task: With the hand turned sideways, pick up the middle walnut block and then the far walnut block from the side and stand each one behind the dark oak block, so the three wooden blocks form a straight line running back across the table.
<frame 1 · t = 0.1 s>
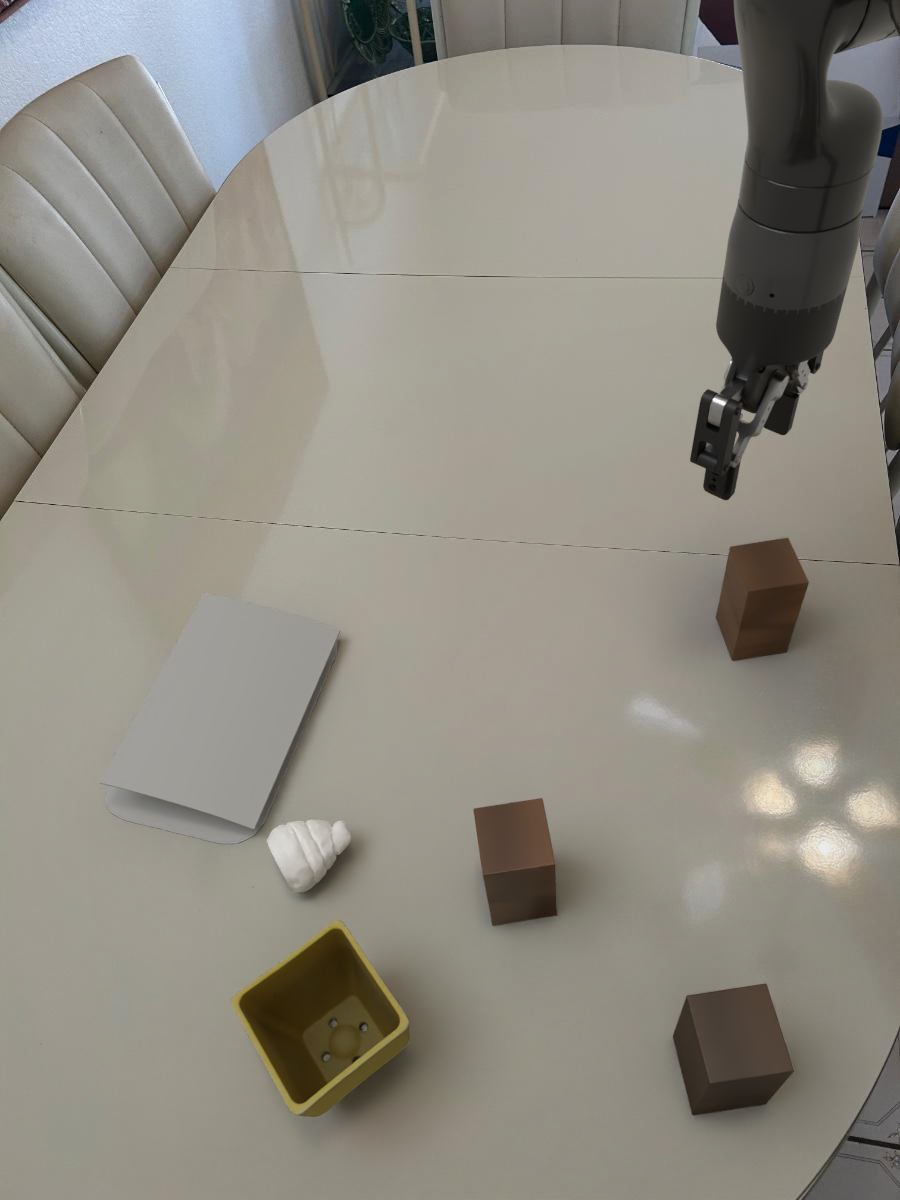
hand: (747, 460, 71), 20 cm above the table, tool pointing down, fingers open, 8 cm apart
book: (227, 717, 85), on the table
walnut block middle: (519, 889, 73), on the table
white swirl cone: (321, 860, 76), on the table
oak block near: (718, 1069, 64), on the table
flower pot: (345, 1045, 67), on the table
walnut block far: (750, 634, 85), on the table
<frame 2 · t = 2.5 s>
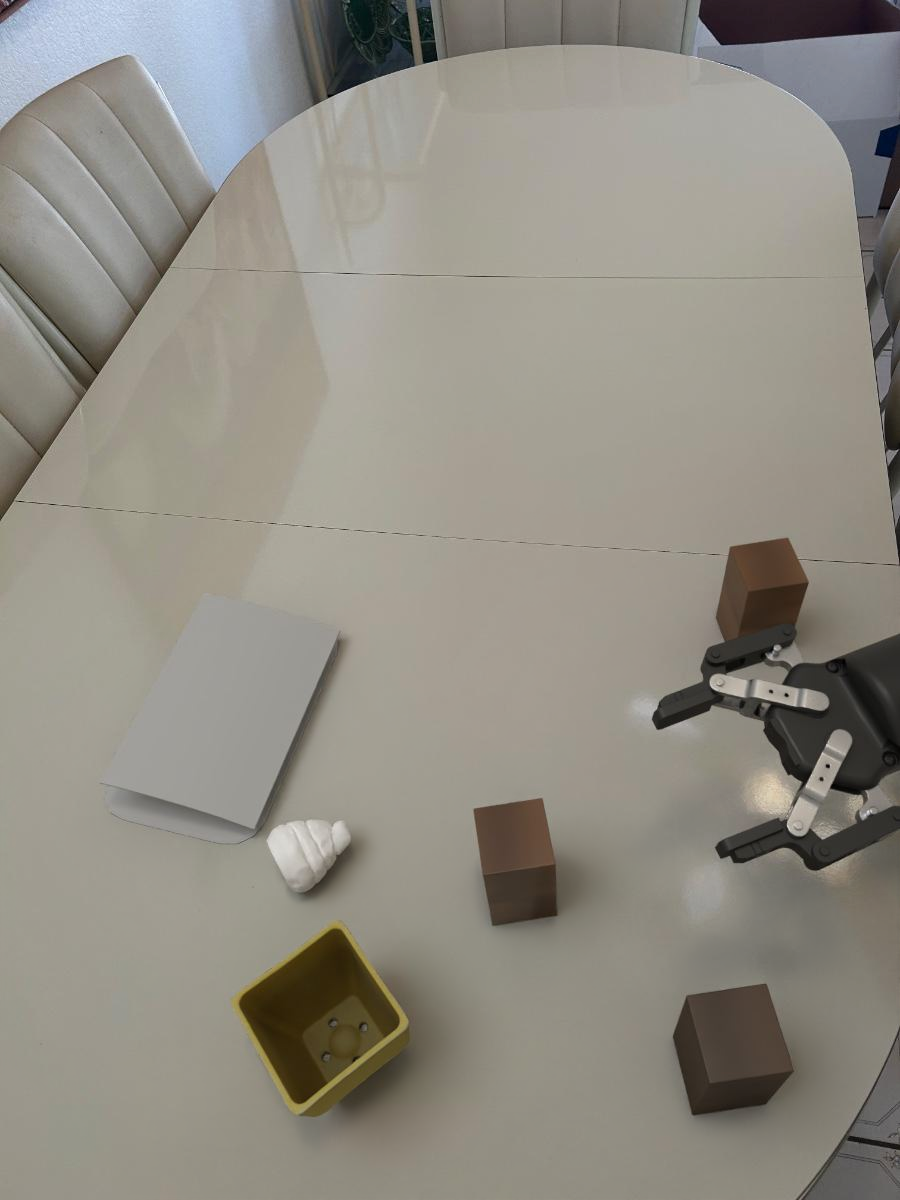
hand: (686, 783, 56), 19 cm above the table, tool horizontal, fingers open, 8 cm apart
nothing on the table moved.
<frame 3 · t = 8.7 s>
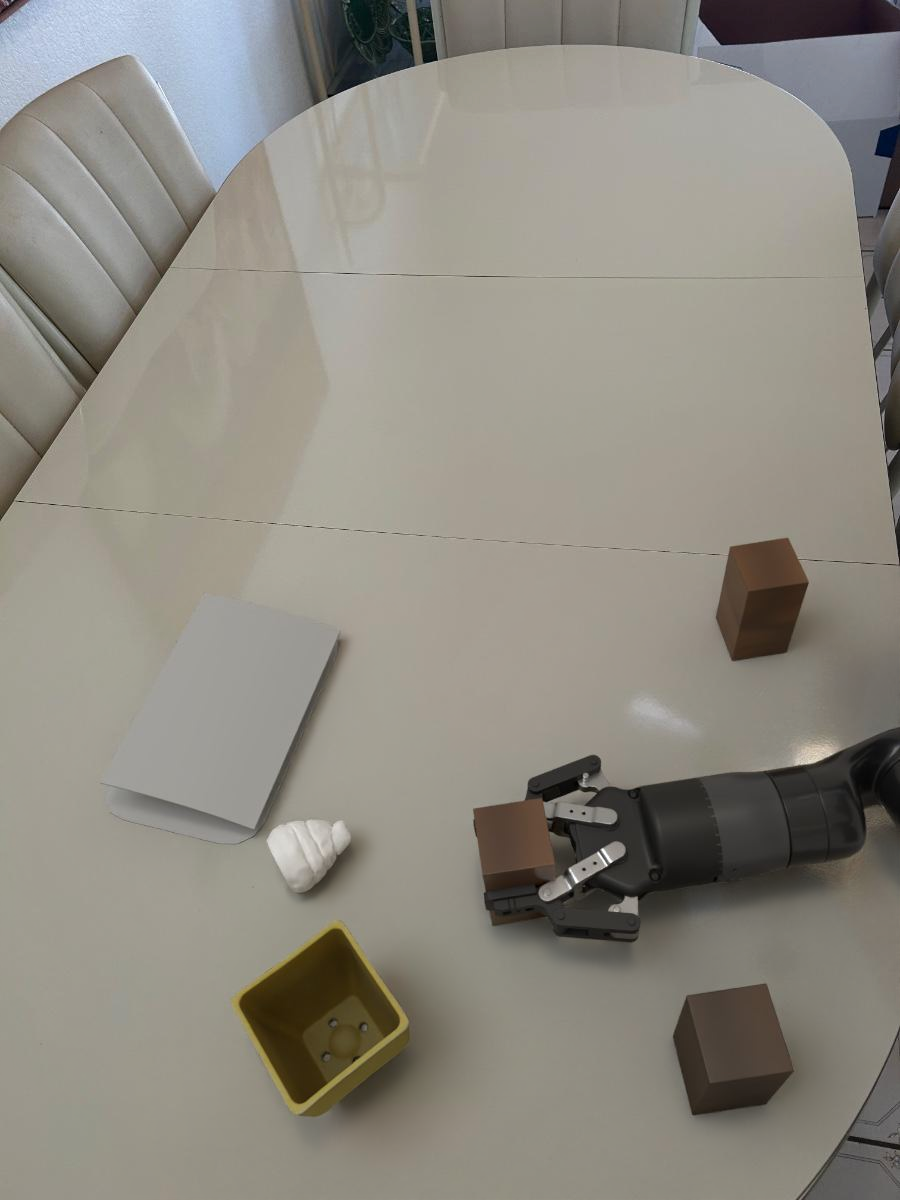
hand: (480, 864, 68), 6 cm above the table, tool horizontal, fingers closed on walnut block middle, 5 cm apart
walnut block middle: (519, 889, 73), on the table, touching gripper
everything else where it was.
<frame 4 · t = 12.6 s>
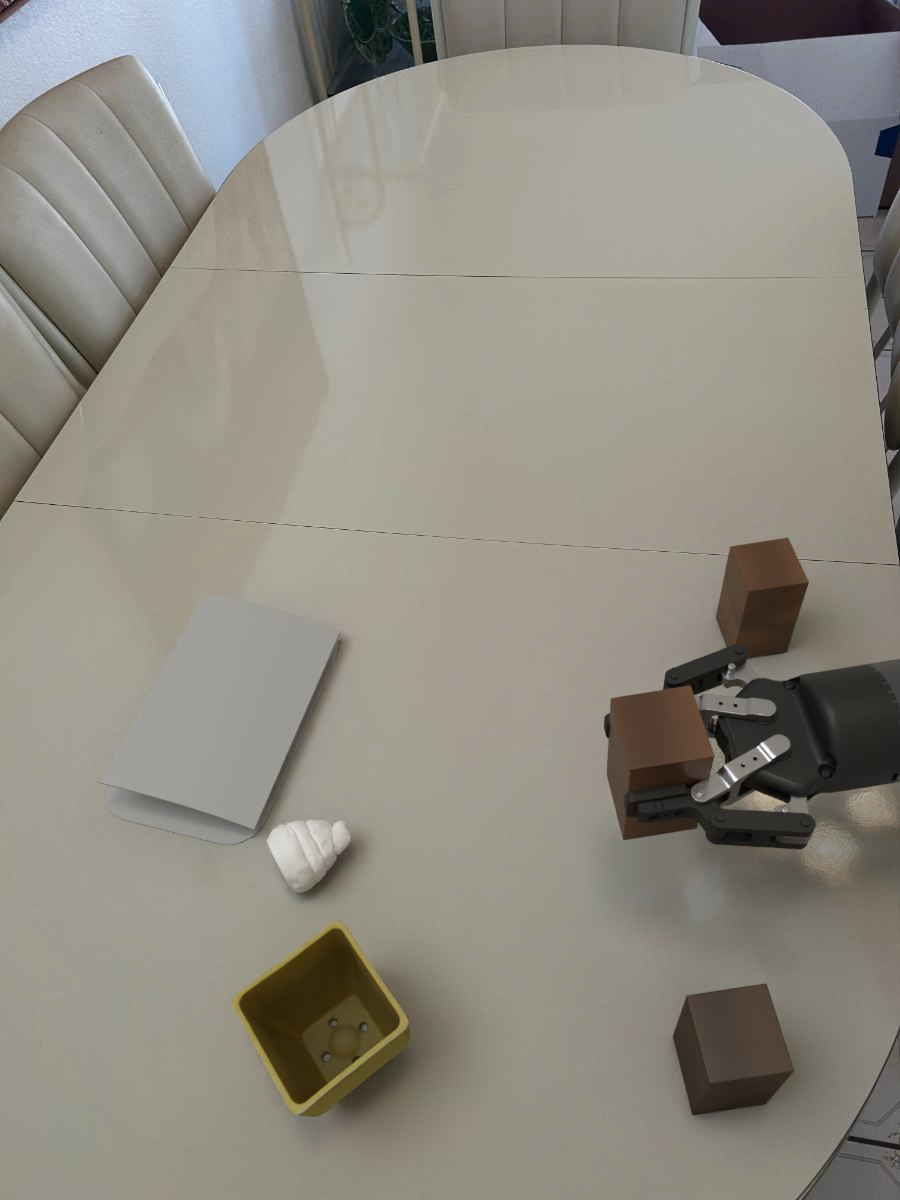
hand: (616, 765, 59), 18 cm above the table, tool horizontal, fingers closed on walnut block middle, 5 cm apart
walnut block middle: (650, 800, 64), point 12 cm above the table, touching gripper
everything else where it was.
when the fingers open (6 cm above the table, at t = 16.6 s): walnut block middle stays where it is, on the table.
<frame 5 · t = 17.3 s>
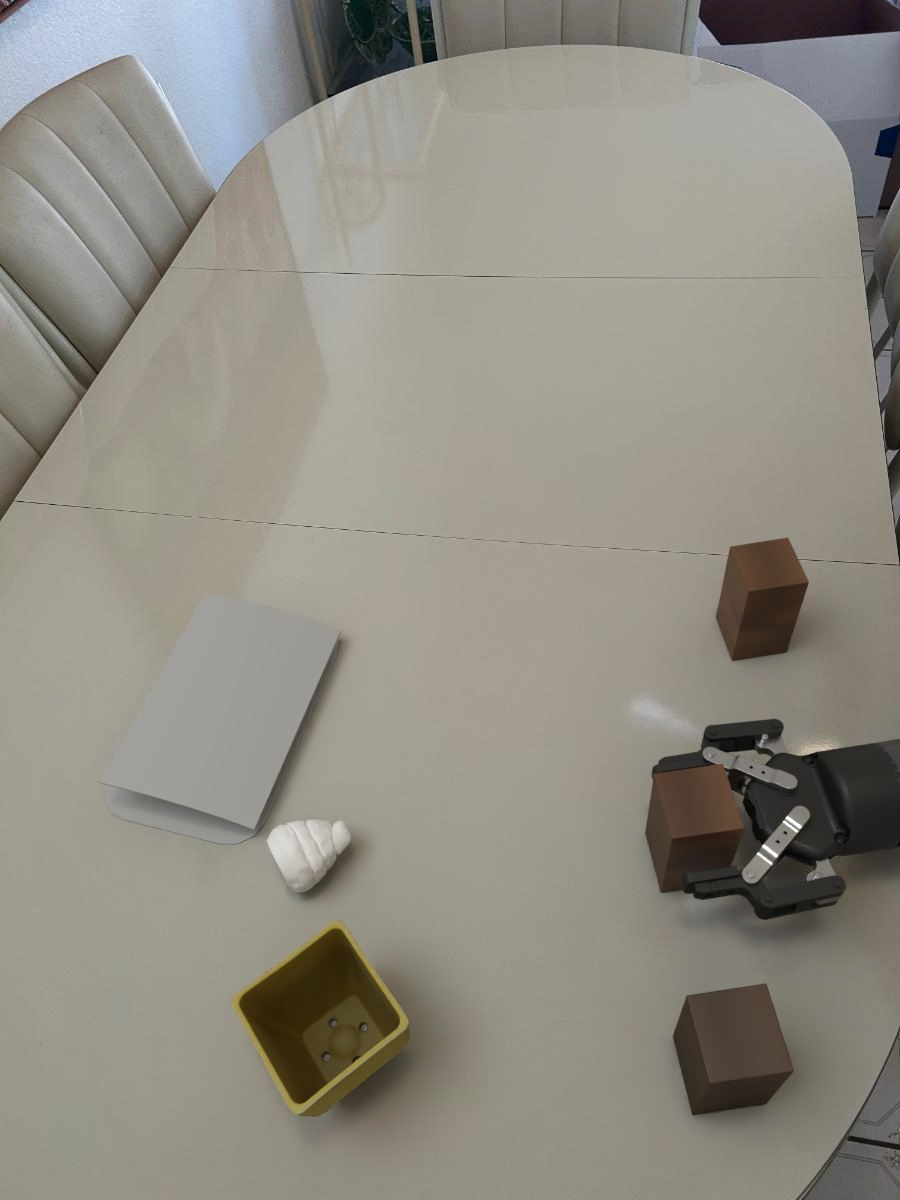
hand: (667, 828, 68), 6 cm above the table, tool horizontal, fingers open, 8 cm apart
walnut block middle: (684, 857, 73), on the table
everything else where it was.
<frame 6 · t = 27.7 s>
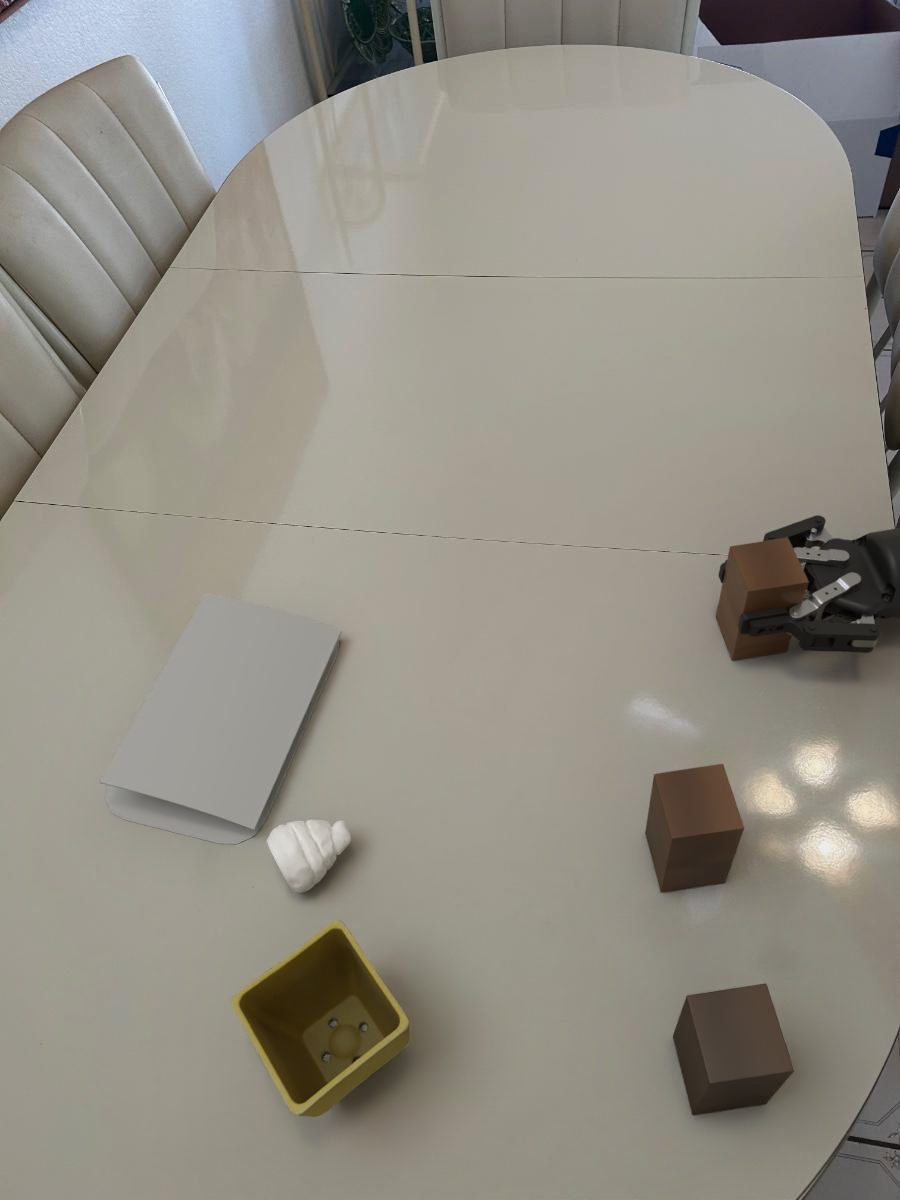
hand: (731, 598, 80), 6 cm above the table, tool horizontal, fingers closed on walnut block far, 5 cm apart
walnut block far: (750, 634, 85), on the table, touching gripper
everything else where it was.
when the fingers open (6 cm above the table, at t = 35.3 s): walnut block far stays where it is, on the table.
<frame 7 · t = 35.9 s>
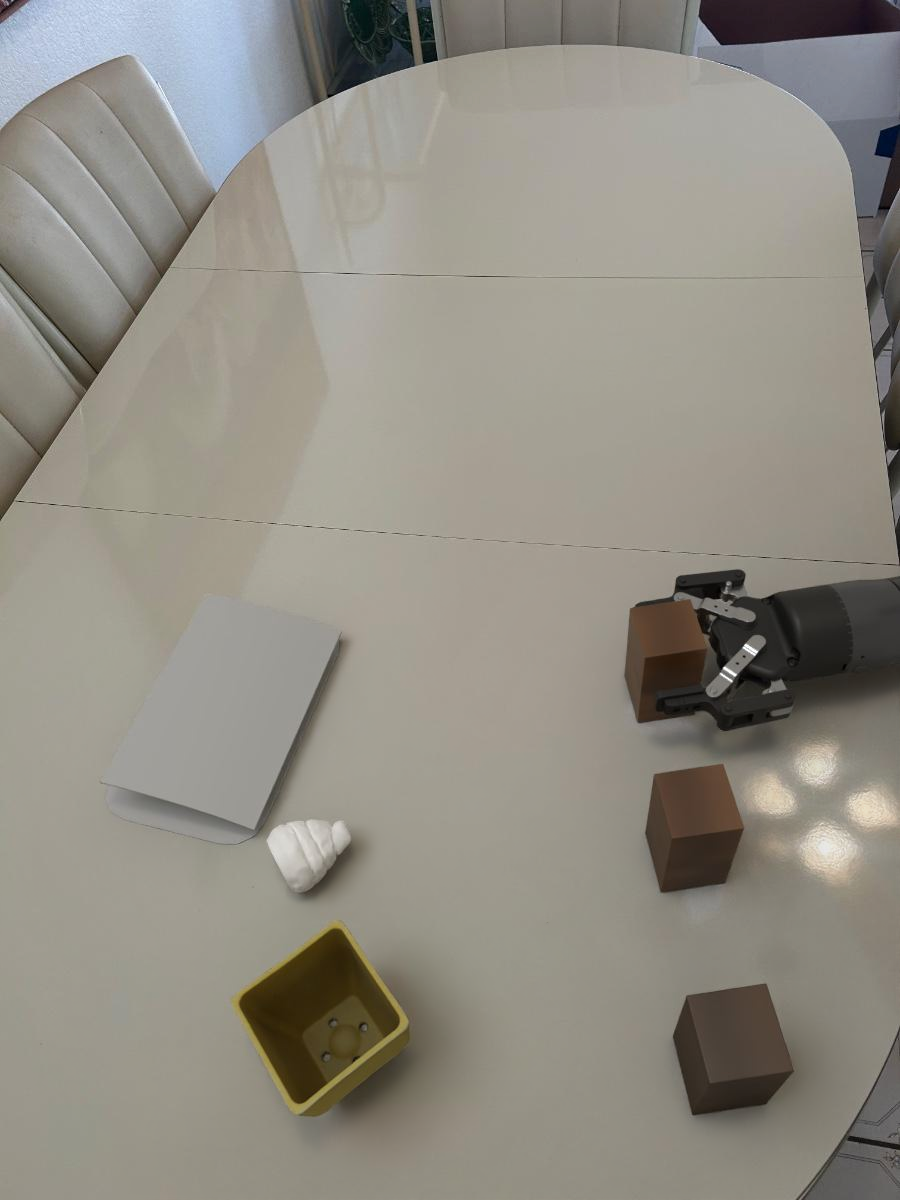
hand: (642, 659, 77), 6 cm above the table, tool horizontal, fingers open, 8 cm apart
walnut block far: (658, 694, 82), on the table
everything else where it was.
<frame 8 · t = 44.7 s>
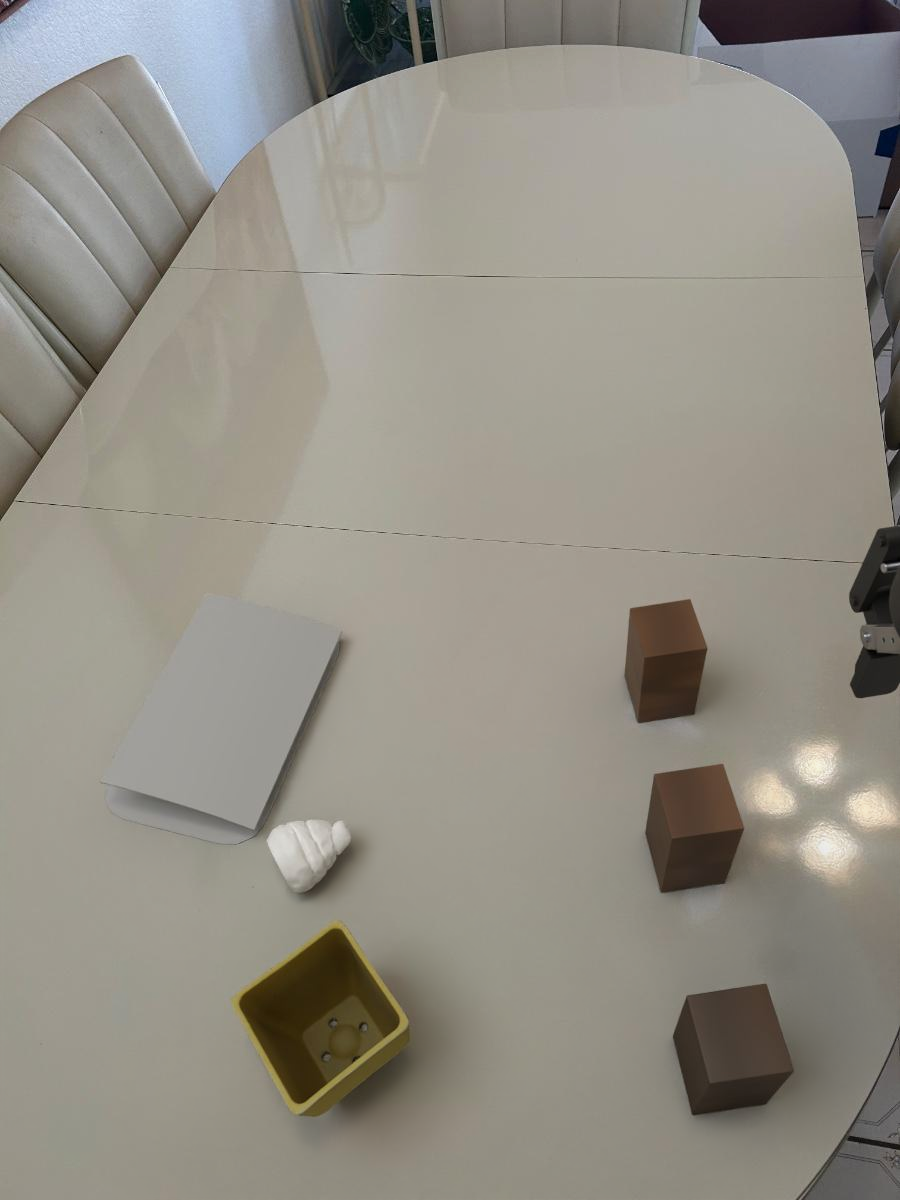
nothing on the table moved.
at the end: walnut block middle 0.1 cm from the target spot on the table beside the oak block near, on the table; walnut block far 0.1 cm from the target spot on the table beside the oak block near, on the table; walnut block far tilted 0° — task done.
